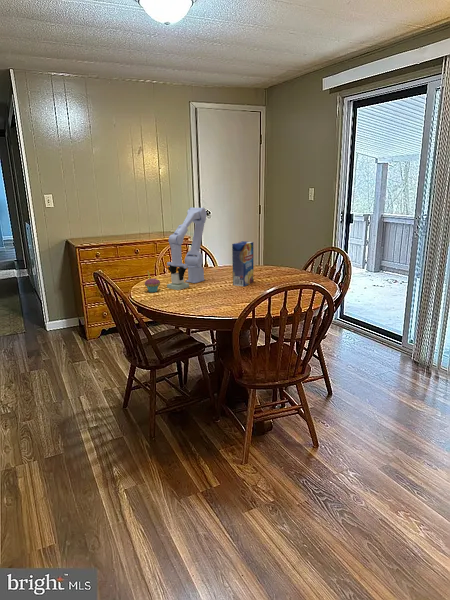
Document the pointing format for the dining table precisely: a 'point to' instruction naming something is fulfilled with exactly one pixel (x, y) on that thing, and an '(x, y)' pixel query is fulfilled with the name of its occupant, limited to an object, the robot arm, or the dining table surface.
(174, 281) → the block
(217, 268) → the dining table surface
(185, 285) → the base
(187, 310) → the dining table surface
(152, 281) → the cupcake
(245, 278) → the juice carton
